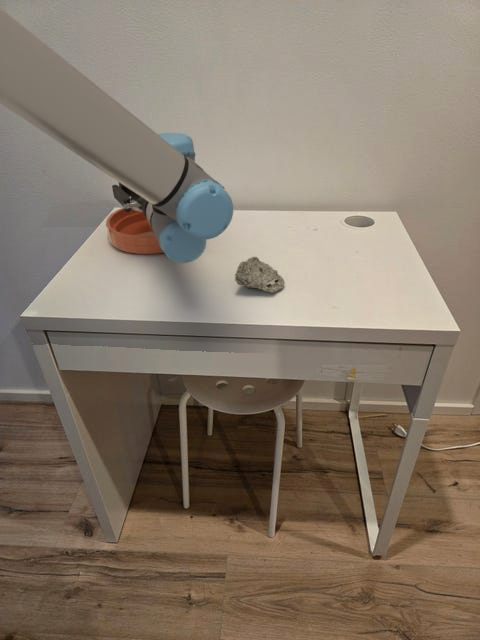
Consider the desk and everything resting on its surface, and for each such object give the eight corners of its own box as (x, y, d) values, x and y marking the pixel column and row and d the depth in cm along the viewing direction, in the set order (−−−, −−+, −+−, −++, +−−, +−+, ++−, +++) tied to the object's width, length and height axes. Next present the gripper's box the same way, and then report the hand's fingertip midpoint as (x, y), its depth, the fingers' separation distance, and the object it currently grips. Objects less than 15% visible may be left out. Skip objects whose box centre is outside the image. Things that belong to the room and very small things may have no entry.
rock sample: (282, 287, 76) (256, 245, 77) (248, 309, 80) (223, 269, 80) (298, 282, 86) (274, 245, 87) (267, 303, 89) (245, 267, 90)
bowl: (107, 260, 94) (103, 241, 91) (112, 222, 110) (108, 205, 107) (202, 250, 97) (201, 232, 94) (193, 214, 113) (191, 197, 110)
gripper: (112, 239, 81) (99, 198, 99) (218, 221, 87) (188, 185, 104) (104, 201, 77) (91, 164, 94) (216, 184, 83) (185, 152, 100)
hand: (142, 175), depth 99 cm, fingers closed on mug, 8 cm apart
